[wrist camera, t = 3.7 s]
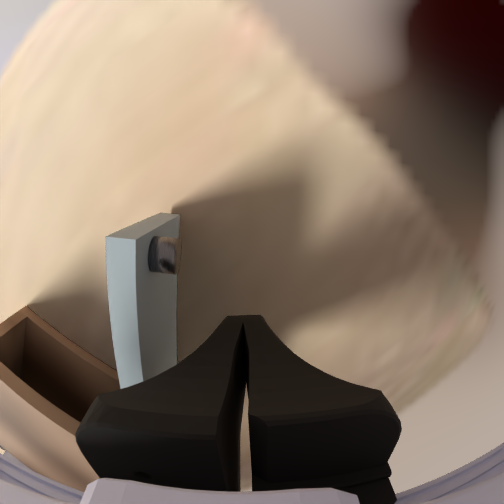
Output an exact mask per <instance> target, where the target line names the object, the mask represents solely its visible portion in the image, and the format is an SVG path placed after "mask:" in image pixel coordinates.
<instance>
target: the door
mask: <svg viewBox="0 0 504 504" xmlns="http://www.w3.org/2000/svg"><path fill="white" fill-rule="evenodd" d="M179 225H180V214H168V213H159V214H156V215H154V216H152V217H149V218H147V219H144V220H142V221H140V222H137V223H135V224H133V225H131V226H128V227H126V228H124V229H121V230H119V231H117V232H115V233H113V234H110V235H108V236H106V270H107V288H108V302H109V313H110V323H111V331H112V339H113V347H114V354H115V360H116V366H117V372H118V378H119V383H120V388H121V389H122V388H126V387H129V386H132V385H135V384H138V383H140V382H143V381H145V380H148V379H150V378H152V377H155V376H157V375H159V374H160V373H162V372H164V371H166V370H168V369H169V368H171V367H173V366H175V365H176V364H177V335H176V310H177V272H178V270H179V266H180V260H181V240H180V238H179Z"/></svg>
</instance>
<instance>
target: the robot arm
mask: <svg viewBox="0 0 504 504" xmlns="http://www.w3.org/2000/svg"><path fill="white" fill-rule="evenodd" d="M246 383H247V391H248V399H249V408H248V419H249V436H250V452H251V467H252V492H240V431H241V421H242V413H243V404H244V396H245V388H246ZM400 433H401V422H400V420H399V418H398V416H397V414H396V412H395V411H394V409H393V407H392V406H391V404H390V403H389V401H388V400H387V399H386V397H385V396H384V395H383V393H382V392H381V391H380V390H376V389H372V388H368V387H364V386H360V385H356V384H352V383H349V382H347V381H344V380H341V379H339V378H336V377H334V376H331V375H329V374H327V373H325V372H323V371H321V370H319V369H317V368H315V367H314V366H312V365H310V364H309V363H307V362H305V361H304V360H303V359H301V358H300V357H298V356H297V355H296V354H294V353H293V352H292V351H291V350H290V349H289V348H288V347H287V346H286V345H285V344H284V343H283V342H282V341H281V340H280V339H279V338H278V337H277V336H276V335H275V334H274V332H273V331H272V330H271V329H270V327H269V326H268V325H267V323H266V322H265V320H264V318H263V317H262V316H261V315H241V316H227V317H226V318H225V319H224V320H223V321H222V323H221V324H220V325H219V326H218V328H217V329H216V330H215V331H214V332H213V333H212V334H211V336H210V337H209V338H208V339H207V340H206V341H205V342H204V343H203V344H202V345H201V346H200V347H199V348H198V349H197V350H195V351H194V352H193V353H192V354H191V355H189V356H188V357H187V358H185V359H184V360H182V361H181V362H180V363H178V364H176V365H175V366H173V367H171V368H169V369H168V370H166V371H164V372H162V373H160V374H159V375H157V376H155V377H152V378H150V379H148V380H145V381H143V382H140V383H138V384H135V385H132V386H129V387H126V388H122V389H118V390H115V391H111V392H107V393H102V394H98V396H97V397H96V398H95V400H94V401H93V403H92V404H91V406H90V408H89V409H88V411H87V413H86V415H85V416H84V418H83V420H82V422H81V423H80V425H79V427H78V429H77V431H76V433H75V437H76V443H77V445H78V447H79V449H80V451H81V453H82V454H83V456H84V457H85V459H86V460H87V461H88V463H89V464H90V466H91V467H92V469H93V470H94V471H95V473H96V474H97V475H98V477H99V478H100V479H97V480H95V481H94V482H92V483H90V484H88V485H87V487H86V490H85V492H82V491H79V490H77V489H74V488H71V487H69V486H66V485H63V484H61V483H59V482H56V481H54V480H51V479H49V478H47V477H45V476H42V475H40V474H38V473H36V472H34V471H33V470H31V469H30V468H28V467H27V466H26V465H24V464H23V463H22V462H20V461H19V460H18V459H16V458H15V457H14V456H13V455H11V454H10V453H9V452H8V451H5V453H4V454H3V455H2V454H0V504H504V443H502V444H501V445H499V446H498V447H496V448H495V449H493V450H491V451H490V452H488V453H486V454H485V455H483V456H481V457H479V458H477V459H476V460H474V461H472V462H470V463H468V464H466V465H464V466H462V467H460V468H458V469H456V470H454V471H452V472H450V473H448V474H446V475H444V476H441V477H439V478H437V479H435V480H432V481H430V482H427V483H425V484H422V485H420V486H417V487H415V488H412V489H409V490H407V491H404V492H401V493H397V494H395V493H394V491H393V488H392V485H391V483H390V480H389V478H388V477H390V476H391V469H390V467H389V464H388V462H387V461H388V459H389V458H390V456H391V454H392V452H393V450H394V448H395V446H396V444H397V442H398V440H399V436H400Z"/></svg>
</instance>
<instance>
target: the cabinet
mask: <svg viewBox="0 0 504 504" xmlns="http://www.w3.org/2000/svg"><path fill="white" fill-rule="evenodd" d="M118 389H121V388H120V383H119V378H118V372H117V371H116V370H114V369H113V368H111V367H110V366H108V365H106V364H105V363H103V362H102V361H100V360H98V359H97V358H95V357H94V356H92V355H91V354H89V353H88V352H86V351H85V350H83V349H82V348H80V347H79V346H77V345H76V344H74V343H73V342H72V341H70V340H69V339H67V338H66V337H65V336H63V335H62V334H61V333H59V332H58V331H57V330H55V329H54V328H53V327H51V326H50V325H49V324H47V323H46V322H45V321H44V320H42V319H41V318H40V317H39V316H37V315H36V314H35V313H34V312H33V311H31V310H30V309H29V308H28V307H27V306H25V307H23V308H22V309H21V310H19V311H18V312H16V313H15V314H14V315H12V316H11V317H9V318H8V319H7V320H5V321H4V322H2V323H1V324H0V446H1V447H3V448H4V449H5V450H6V451H8V452H9V453H10V454H11V455H13V456H14V457H15V458H16V459H18V460H19V461H20V462H22V463H23V464H24V465H26V466H27V467H28V468H30V469H31V470H33V471H34V472H36V473H38V474H40V475H42V476H45V477H47V478H49V479H51V480H54V481H56V482H59V483H61V484H63V485H66V486H69V487H71V488H74V489H77V490H79V491H82V492H85V490H86V487H87V485H88V484H90V483H92V482H94V481H95V480H97V479H100V478H99V477H98V475H97V474H96V473H95V471H94V470H93V469H92V467H91V466H90V464H89V463H88V461H87V460H86V459H85V457H84V456H83V454H82V453H81V451H80V449H79V447H78V445H77V443H76V437H75V433H76V431H77V429H78V427H79V425H80V423H81V422H82V420H83V418H84V416H85V415H86V413H87V411H88V409H89V408H90V406H91V404H92V403H93V401H94V400H95V398H96V397H97V396H98V394H102V393H107V392H111V391H115V390H118Z"/></svg>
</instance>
